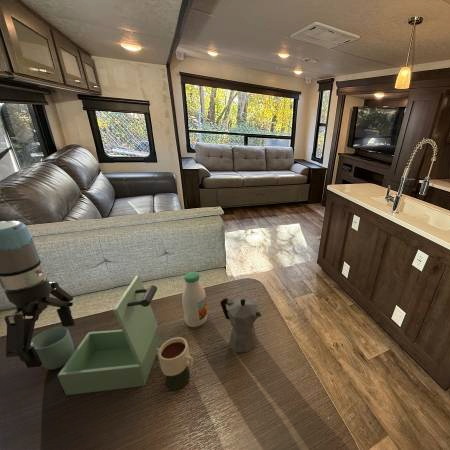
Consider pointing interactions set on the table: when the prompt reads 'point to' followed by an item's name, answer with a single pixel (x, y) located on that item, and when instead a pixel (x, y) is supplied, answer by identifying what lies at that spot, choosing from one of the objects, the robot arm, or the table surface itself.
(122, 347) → the chest
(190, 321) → the milk bottle
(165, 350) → the character mug
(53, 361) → the cup
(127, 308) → the lid
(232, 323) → the coffeepot
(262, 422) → the table surface
